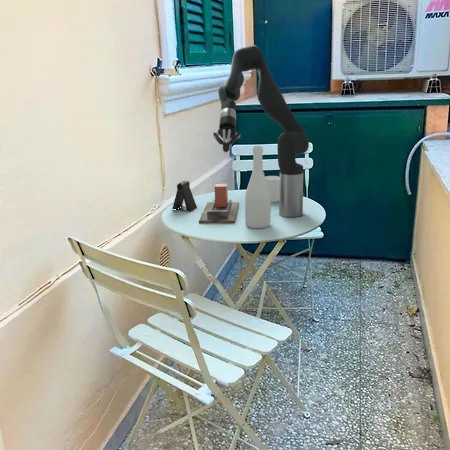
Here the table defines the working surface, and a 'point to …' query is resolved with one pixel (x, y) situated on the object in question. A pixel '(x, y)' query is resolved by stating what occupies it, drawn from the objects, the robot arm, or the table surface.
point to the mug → (273, 187)
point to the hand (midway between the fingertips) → (226, 151)
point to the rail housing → (219, 213)
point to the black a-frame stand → (184, 197)
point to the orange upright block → (221, 195)
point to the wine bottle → (257, 195)
